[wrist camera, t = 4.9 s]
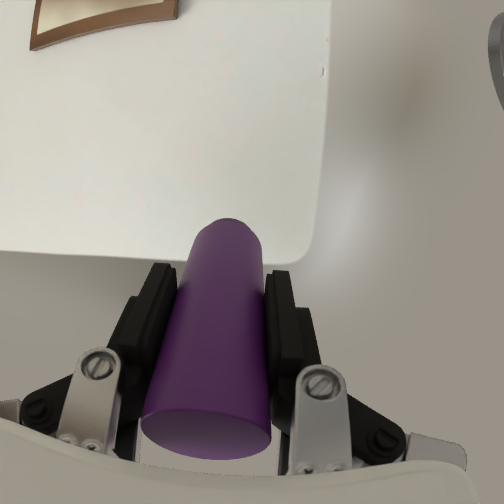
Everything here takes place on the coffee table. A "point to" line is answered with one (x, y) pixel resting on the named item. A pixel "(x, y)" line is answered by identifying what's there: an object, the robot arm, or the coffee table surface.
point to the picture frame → (92, 17)
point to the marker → (214, 353)
